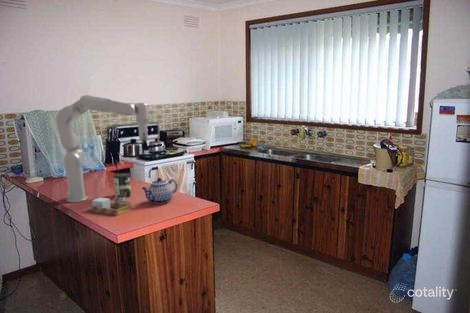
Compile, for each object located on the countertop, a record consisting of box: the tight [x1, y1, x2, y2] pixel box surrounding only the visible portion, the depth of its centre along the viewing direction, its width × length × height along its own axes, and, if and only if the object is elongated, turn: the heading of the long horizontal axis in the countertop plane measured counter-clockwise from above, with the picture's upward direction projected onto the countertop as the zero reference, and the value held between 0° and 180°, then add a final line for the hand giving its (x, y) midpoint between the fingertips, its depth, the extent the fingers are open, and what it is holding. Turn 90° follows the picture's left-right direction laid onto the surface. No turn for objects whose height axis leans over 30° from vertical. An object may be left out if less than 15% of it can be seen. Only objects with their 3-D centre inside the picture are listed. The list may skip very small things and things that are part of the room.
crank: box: [117, 188, 132, 199], centre depth 226 cm, size 10×3×5 cm, turn 65°
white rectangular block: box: [91, 197, 112, 209], centre depth 219 cm, size 8×6×6 cm
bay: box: [89, 201, 132, 217], centre depth 217 cm, size 20×11×3 cm, turn 64°
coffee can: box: [112, 172, 132, 197], centre depth 246 cm, size 10×10×14 cm
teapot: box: [141, 177, 178, 205], centre depth 230 cm, size 25×15×15 cm, turn 132°
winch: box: [114, 196, 132, 204], centre depth 229 cm, size 10×8×4 cm
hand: (144, 148), depth 244 cm, fingers open, 9 cm apart
